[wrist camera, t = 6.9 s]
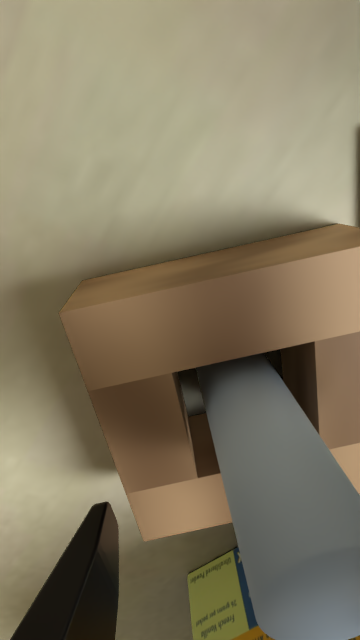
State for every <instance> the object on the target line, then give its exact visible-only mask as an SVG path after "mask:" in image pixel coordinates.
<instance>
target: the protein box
mask: <svg viewBox="0 0 360 640" xmlns="http://www.w3.org/2000/svg"><path fill="white" fill-rule="evenodd" d="M187 581H188V591H189V602H190V613H191V625H192V635H193V640H275V639H273V638H271V637H269V636H268V635H267V634H265V633H264V632H263V631H262V630H261V628H260V627H259V625H258V624H257V621H256V618H255V614H254V610H253V605H252V601H251V597H250V593H249V589H248V585H247V580H246V576H245V572H244V568H243V564H242V560H241V555H240V551H239V547H237V548H236V549H234V550H232V551H230V552H228V553H226V554H225V555H223V556H221V557H219V558H217V559H215V560H214V561H212V562H210V563H208V564H206V565H205V566H203V567H201V568H199V569H197V570H196V571H194V572H192V573H190V574H188V576H187ZM348 640H360V635H359V636H356V637H354V638H351V639H348Z"/></svg>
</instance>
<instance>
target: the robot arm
mask: <svg viewBox="0 0 360 640" xmlns="http://www.w3.org/2000/svg"><path fill="white" fill-rule="evenodd" d="M118 596H119V544H118V523H117V520H116V517H115V515H114V512H113V510H112V508H111V505H110V503H109V502H102V503H97V504H94V505H93V506H92V507H91V509H90V511H89V512H88V514H87V515H86V517H85V519H84V520H83V522H82V524H81V525H80V527H79V528H78V530H77V532H76V533H75V535H74V537H73V538H72V540H71V541H70V543H69V545H68V546H67V548H66V550H65V551H64V553H63V554H62V556H61V558H60V559H59V561H58V563H57V564H56V566H55V567H54V569H53V571H52V572H51V574H50V576H49V577H48V579H47V580H46V582H45V584H44V585H43V587H42V589H41V590H40V592H39V594H38V595H37V597H36V598H35V600H34V602H33V603H32V605H31V607H30V608H29V610H28V611H27V613H26V615H25V616H24V618H23V620H22V621H21V623H20V624H19V626H18V628H17V629H16V631H15V633H14V634H13V636H12V637H11V639H10V640H115V632H116V621H117V610H118Z"/></svg>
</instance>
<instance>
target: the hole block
mask: <svg viewBox="0 0 360 640" xmlns="http://www.w3.org/2000/svg"><path fill="white" fill-rule="evenodd" d="M59 316H60V318H61V321H62V324H63V326H64V329H65V332H66V334H67V337H68V340H69V343H70V345H71V348H72V351H73V353H74V356H75V359H76V361H77V364H78V367H79V369H80V372H81V375H82V377H83V380H84V383H85V385H86V388H87V391H88V393H89V396H90V399H91V401H92V404H93V407H94V410H95V412H96V415H97V418H98V420H99V423H100V426H101V428H102V431H103V434H104V436H105V439H106V442H107V444H108V447H109V450H110V452H111V455H112V458H113V460H114V463H115V466H116V468H117V471H118V474H119V476H120V479H121V482H122V485H123V487H124V490H125V493H126V495H127V498H128V501H129V503H130V506H131V509H132V511H133V514H134V517H135V519H136V522H137V525H138V527H139V530H140V533H141V535H142V538H143V541H149V540H154V539H158V538H163V537H167V536H172V535H177V534H181V533H186V532H190V531H195V530H199V529H204V528H209V527H213V526H218V525H222V524H227V523H231V522H232V518H231V514H230V510H229V505H228V501H227V497H226V493H225V489H224V485H223V480H222V476H221V472H220V468H219V464H218V460H217V455H216V451H215V447H214V443H213V439H212V435H211V430H210V426H209V422H208V418H207V414H206V413H204V414H199V415H195V416H190V417H188V414H187V410H186V406H185V402H184V398H183V394H182V390H181V385H180V381H179V377H178V373H177V372H178V371H182V370H187V369H191V368H196V367H200V366H205V365H209V364H214V363H218V362H223V361H228V360H232V359H237V358H241V357H246V356H250V355H255V354H259V353H264V352H268V351H273V350H278V349H280V350H281V360H282V370H283V381H284V383H285V385H286V386H287V388H288V389H289V391H290V392H291V394H292V395H293V397H294V398H295V400H296V401H297V403H298V404H299V406H300V407H301V409H302V410H303V411H304V413H305V414H306V416H307V417H308V419H309V420H310V422H311V423H312V425H313V426H314V428H315V429H316V431H317V432H318V434H319V435H320V437H321V438H322V440H323V441H324V443H325V444H326V446H327V447H328V449H329V450H330V452H331V453H332V455H333V456H334V458H335V459H336V461H337V462H338V464H339V465H340V467H341V468H342V470H343V471H344V473H345V474H346V476H347V477H348V479H349V480H350V482H351V483H352V484H353V486H354V487H355V489H356V490H357V492H358V493H359V495H360V228H358V227H353V226H348V225H343V224H336V225H331V226H327V227H322V228H318V229H313V230H309V231H304V232H299V233H295V234H290V235H286V236H281V237H277V238H272V239H268V240H263V241H259V242H254V243H250V244H245V245H241V246H236V247H232V248H227V249H223V250H218V251H214V252H209V253H205V254H200V255H195V256H191V257H186V258H182V259H177V260H173V261H168V262H164V263H159V264H155V265H150V266H146V267H141V268H137V269H132V270H128V271H123V272H119V273H114V274H110V275H105V276H101V277H96V278H92V279H87V280H82V282H81V283H80V284H79V286H78V287H77V288H76V290H75V291H74V293H73V294H72V295H71V297H70V298H69V299H68V301H67V302H66V304H65V305H64V306H63V308H62V309H61V310H60V312H59Z"/></svg>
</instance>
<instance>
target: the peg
mask: <svg viewBox="0 0 360 640" xmlns="http://www.w3.org/2000/svg"><path fill="white" fill-rule="evenodd" d="M196 372H197V376H198V380H199V385H200V389H201V393H202V397H203V401H204V405H205V410H206V414H207V418H208V422H209V426H210V430H211V435H212V439H213V443H214V447H215V451H216V455H217V460H218V464H219V468H220V472H221V476H222V480H223V485H224V489H225V493H226V497H227V501H228V505H229V510H230V514H231V518H232V522H233V526H234V530H235V535H236V539H237V543H238V547H239V551H240V555H241V560H242V564H243V568H244V572H245V576H246V580H247V585H248V589H249V593H250V597H251V601H252V605H253V610H254V614H255V618H256V621H257V624H258V625H259V627H260V628H261V630H262V631H263V632H264V633H265V634H267V635H268V636H269V637H271V638H273V639H275V640H348V639H351V638H354V637H356V636H359V635H360V495H359V493H358V492H357V490H356V489H355V487H354V486H353V484H352V483H351V482H350V480H349V479H348V477H347V476H346V474H345V473H344V471H343V470H342V468H341V467H340V465H339V464H338V462H337V461H336V459H335V458H334V456H333V455H332V453H331V452H330V450H329V449H328V447H327V446H326V444H325V443H324V441H323V440H322V438H321V437H320V435H319V434H318V432H317V431H316V429H315V428H314V426H313V425H312V423H311V422H310V420H309V419H308V417H307V416H306V414H305V413H304V411H303V410H302V409H301V407H300V406H299V404H298V403H297V401H296V400H295V398H294V397H293V395H292V394H291V392H290V391H289V389H288V388H287V386H286V385H285V383H284V382H283V380H282V379H281V377H280V376H279V374H278V373H277V371H276V370H275V368H274V367H273V365H272V364H271V362H270V361H269V359H268V358H267V356H266V355H265V353H259V354H255V355H250V356H246V357H241V358H237V359H232V360H228V361H223V362H218V363H214V364H209V365H205V366H200V367H196Z"/></svg>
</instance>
